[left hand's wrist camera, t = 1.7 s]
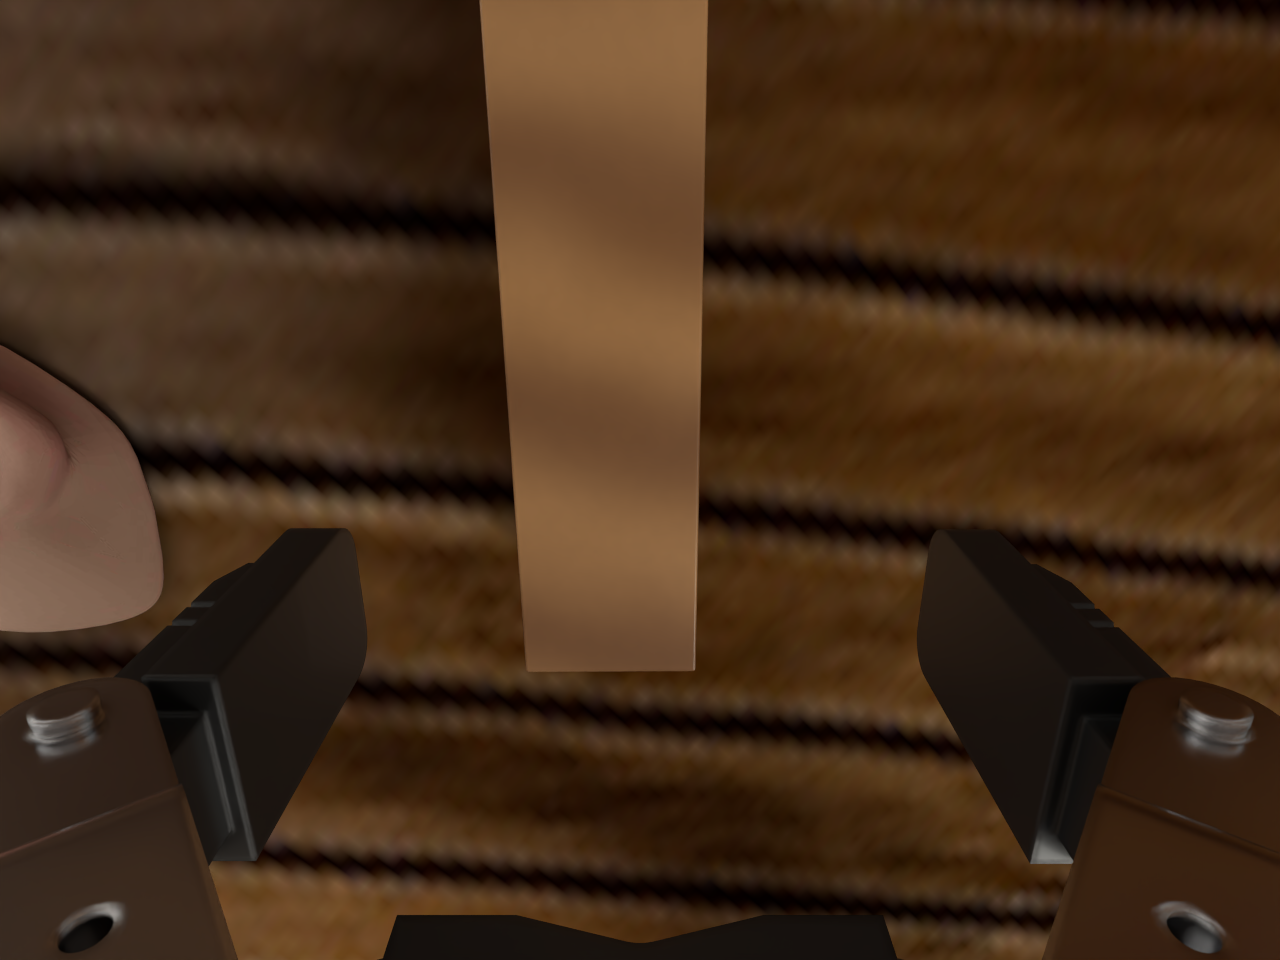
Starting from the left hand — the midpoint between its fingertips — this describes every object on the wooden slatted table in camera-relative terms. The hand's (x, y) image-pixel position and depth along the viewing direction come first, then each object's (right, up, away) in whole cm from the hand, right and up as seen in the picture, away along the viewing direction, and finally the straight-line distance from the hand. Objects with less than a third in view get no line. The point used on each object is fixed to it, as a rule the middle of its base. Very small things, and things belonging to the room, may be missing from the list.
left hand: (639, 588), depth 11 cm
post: (-1, +27, +7) cm, 28 cm away
